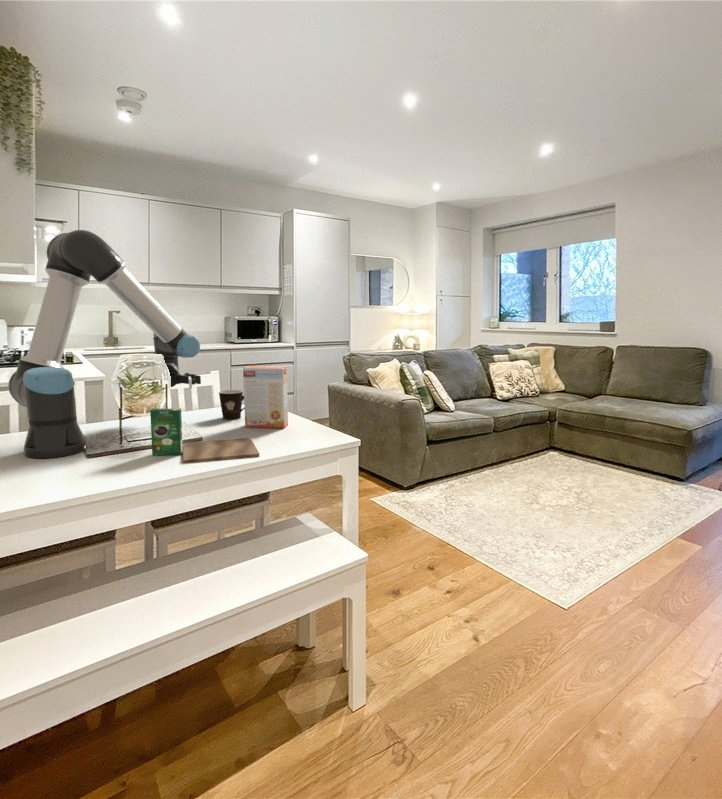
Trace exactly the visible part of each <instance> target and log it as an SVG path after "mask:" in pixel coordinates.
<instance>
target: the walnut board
mask: <svg viewBox="0 0 722 799" xmlns="http://www.w3.org/2000/svg"><path fill="white" fill-rule="evenodd" d="M182 455H183V457H182V458H183V464H190V463H200V462H211V461H212V460H213V461H221V460H223V459H224V460H234V458H235V459H243V458H244V457H246V458H254V457H253V456H257V457H260V452H259V451H258V449H257V447H256V445H255V443H254V441H253V440H252V438H251V437H245V438H244V437H243V438H228V439H219V440H217V439H216V440H205V441H204V440H203V441H202V440H201V441H191V442H182Z"/></svg>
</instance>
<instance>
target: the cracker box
mask: <svg viewBox="0 0 722 799" xmlns="http://www.w3.org/2000/svg"><path fill="white" fill-rule="evenodd" d="M287 370H288V368H287V366H255V365H254V366H245V367H243V368H242V372H243V396H244V399H243V403H244V404H243V405H244V407H243V408H245V409H244V426H245V427H244V428H263V429H264V428H265V429H266V428H268V429H285V428H286V427H287V426H288V425H289V409H288V407H289V404H288V403H289V402H288V371H287Z"/></svg>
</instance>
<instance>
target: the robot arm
mask: <svg viewBox="0 0 722 799" xmlns="http://www.w3.org/2000/svg"><path fill="white" fill-rule="evenodd" d="M46 257H47V262H46V265H45V268H44V269H45V272H46V273H47V275H48V280H47V285H46V288H45V292H44V295H43V297H42V298H43V299H42V302H41V306H40V310H39V313H38V317H37V320H36V324H35V327H34V331H33V333H32V338H31V341H30V345H29V348H28V353H27V354H26V355H24V356H22V357H21V358H19V360H18V364H17V368H16V370H15V372H14V373H12V375H10V378H9V380H8V385H7V386H8V391H9V393H10V396H11V397H12V399H13V400H14V401H15V402H16V403H18V404H19V405H21V406H23V407H26V412H27V420H28V421H27V422H28V429H27V434H26V438H25V441H24V445H23V451H24V453H23V454H24V456H25V457H27V458H31V459H52V458H60V457H66V456H71V455H75V454H79V453H80V452H82V451H85V450H84V446H85V445H86V446H87V441H86V437H85V436H84V434H83V432H82V430H81V427H80V426H79V423H78V418H77V417H78V416H77V406H76V397H75V381H74V377H73V374H72V372H71V371H70V370H68V369H67V368H65V367H64V366H63V364H62V358H63V354H64V351H65V347H66V344H67V341H68V337H69V335H70V334H69V333H70V331H71V330H70V329H71V326H72V322H73V320H74V319H73V318H74V316H75V312H76V309H77V305H78V301H79V298H80V294H81V290H82V288H83V287H85V286H87V285H89V283H90V279H91V277H92V278H93V279H95V281H96V282H98V283H99V284H100V283H101V284H105V286H106V287H107V288H109V290H111V292H113V293H114V294H115V295H116V297H117V298H118V299H120V301H122V302H123V303H124V304H125V305H126V307H128V308H129V310H131V312H133V313H134V315H135V316H136V317H137V318H139V320H141V321H142V322H143V323H144V324H145V325H146V327H147V328H149V329H150V331H152V333H153V335H152V336H153V337H152V340H153V347H154V348H153V349H154V355H155V354H162V355H163V356H164V360H165V363H166V365H167V367H168V369H169V372H170V376H171V388H174V387H176V385H180V384H186V385H188V387H189V389H193V385H201V384H202V377H201V375H197V374H195V373H189V372H185V373H184V374H181V373H180V367H179V358H180V357H181V358H183V359H188V358H193V357H196V356H197V355H198V354H199V352H200V350H201V343H200V340H199V339H198V337H196V336H194V335H191V334H188V333H187V332H186V331H185V330H184V328H183V327H181V326H180V324H178V323H177V322H176V320H175V319H174V318H173V317H172V316H171V315H170V314H169V313H168V311H166V310H165V308H163V307H162V305H161V304H160V303H159V302H158V301H157V299H156V298H155V297H153V296H152V295H151V294H150V292H148V290H146V288H145V287H144V286H143V284H141V283H140V281H138V280H137V279H136V278H135V276H134V275H133V274H132V273H131V272H130V271H129V270H128V269H127V268H126V267H125V261H124V260H123V259H122V257H120V255H119V254H118V253H117V252H116V251H115V250H114V249H113V248H112V247H111V246H110V244H108V243H107V242H106V241H105V240H104V239H103V238H101V237H100V236H99V235H97V234H96V233H94V232H91V231H89V230H85V229H75V230H72V231H69V232H62V233H59V234H57V235H55V237H53V238H51V240H50V241H49V243H48V244H47V247H46Z"/></svg>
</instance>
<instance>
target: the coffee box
mask: <svg viewBox="0 0 722 799" xmlns="http://www.w3.org/2000/svg"><path fill="white" fill-rule="evenodd" d="M149 412H150V430H151V431H150V432H151V433H150V434H151V435H150V436H151V454H152V456H179V455H180V456H181V455H183V429H182V428H183V426H182V423H183V422H182V420H183V418H182V408H151V409H150V411H149Z"/></svg>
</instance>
